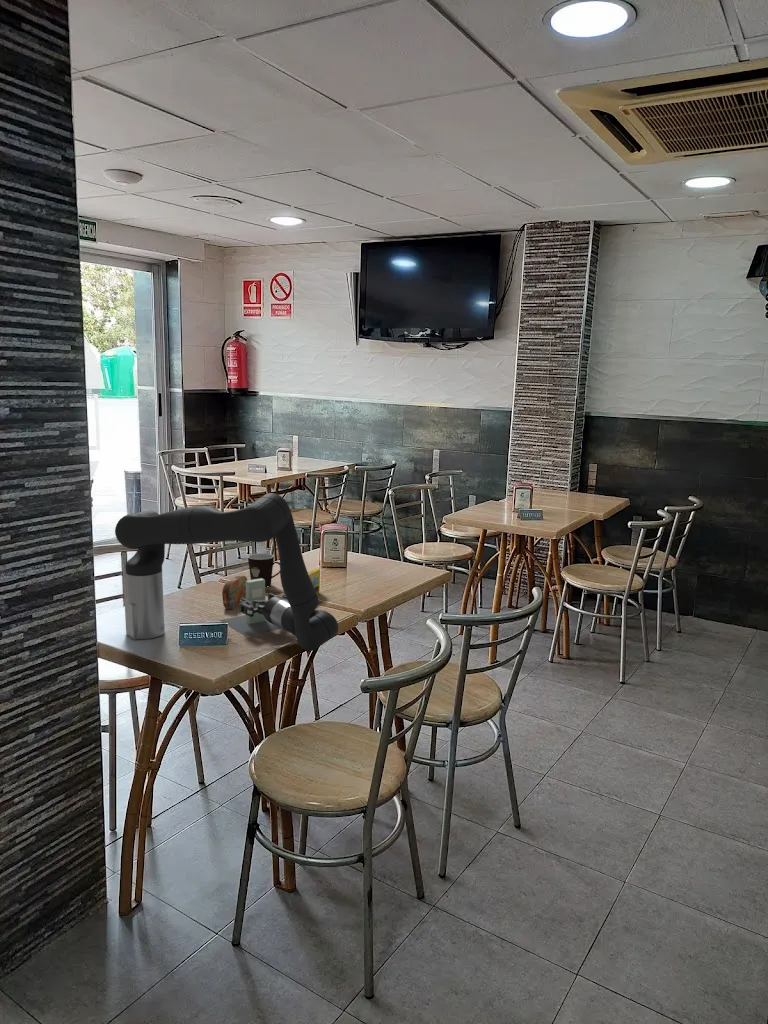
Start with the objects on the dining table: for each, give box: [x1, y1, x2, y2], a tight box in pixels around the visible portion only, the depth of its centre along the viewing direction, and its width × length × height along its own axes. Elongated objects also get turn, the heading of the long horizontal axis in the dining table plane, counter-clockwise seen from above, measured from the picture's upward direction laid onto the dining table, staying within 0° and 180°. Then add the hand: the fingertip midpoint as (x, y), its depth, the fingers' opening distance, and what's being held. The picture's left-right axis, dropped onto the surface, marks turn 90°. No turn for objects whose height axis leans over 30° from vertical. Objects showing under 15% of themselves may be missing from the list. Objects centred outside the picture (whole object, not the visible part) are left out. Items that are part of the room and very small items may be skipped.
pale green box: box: [246, 578, 266, 624], centre depth 205 cm, size 5×2×12 cm, turn 127°
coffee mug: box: [247, 553, 280, 588], centre depth 243 cm, size 12×9×10 cm
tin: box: [221, 575, 249, 610], centre depth 222 cm, size 15×3×8 cm, turn 168°
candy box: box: [307, 568, 321, 595], centre depth 229 cm, size 16×2×8 cm, turn 161°
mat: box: [218, 614, 281, 637], centre depth 208 cm, size 26×16×1 cm, turn 127°
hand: (255, 598), depth 205 cm, fingers open, 8 cm apart
